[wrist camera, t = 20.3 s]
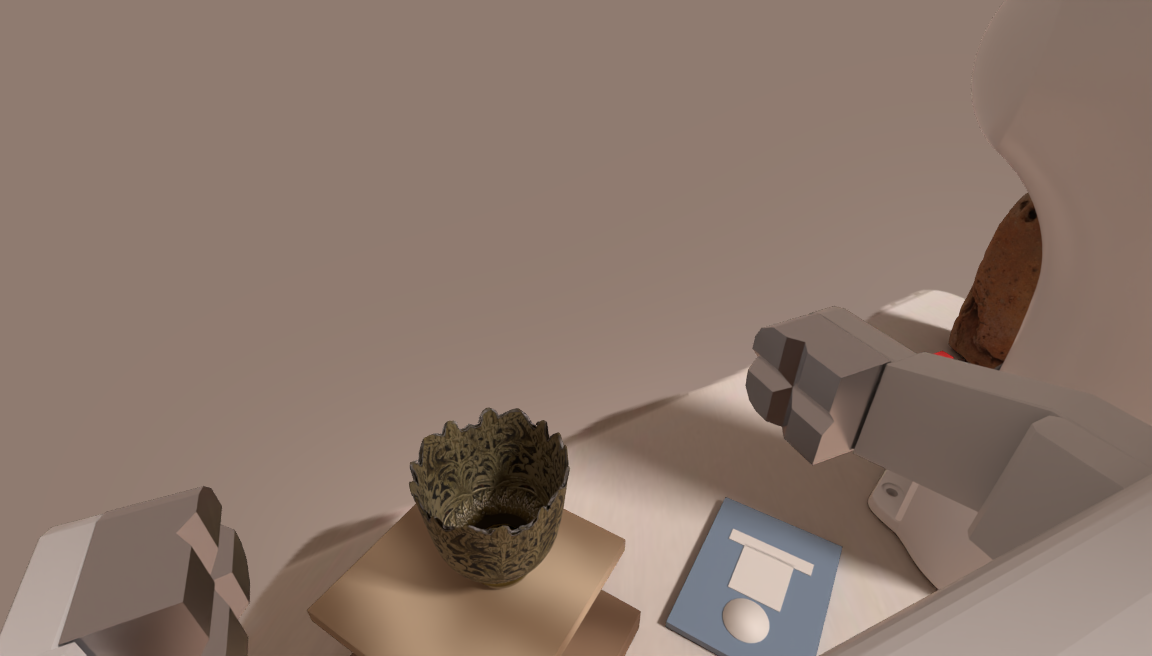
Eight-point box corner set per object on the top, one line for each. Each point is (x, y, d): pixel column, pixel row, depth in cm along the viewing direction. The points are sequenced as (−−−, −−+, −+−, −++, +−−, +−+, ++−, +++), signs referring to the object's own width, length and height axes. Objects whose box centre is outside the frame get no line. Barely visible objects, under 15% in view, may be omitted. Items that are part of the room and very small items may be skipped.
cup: (452, 657, 27) (427, 552, 22) (419, 535, 32) (394, 433, 28) (593, 594, 29) (596, 489, 25) (540, 492, 35) (535, 392, 31)
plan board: (724, 501, 46) (725, 496, 46) (840, 551, 43) (842, 546, 42) (665, 626, 38) (666, 620, 38) (803, 702, 34) (805, 697, 34)
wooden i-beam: (476, 535, 44) (460, 443, 38) (639, 627, 38) (649, 534, 32) (326, 707, 34) (276, 616, 28) (515, 869, 28) (498, 795, 22)
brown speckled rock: (1072, 382, 59) (1187, 198, 48) (1033, 405, 56) (1145, 216, 45) (970, 331, 67) (1048, 163, 56) (930, 349, 64) (1004, 176, 53)
